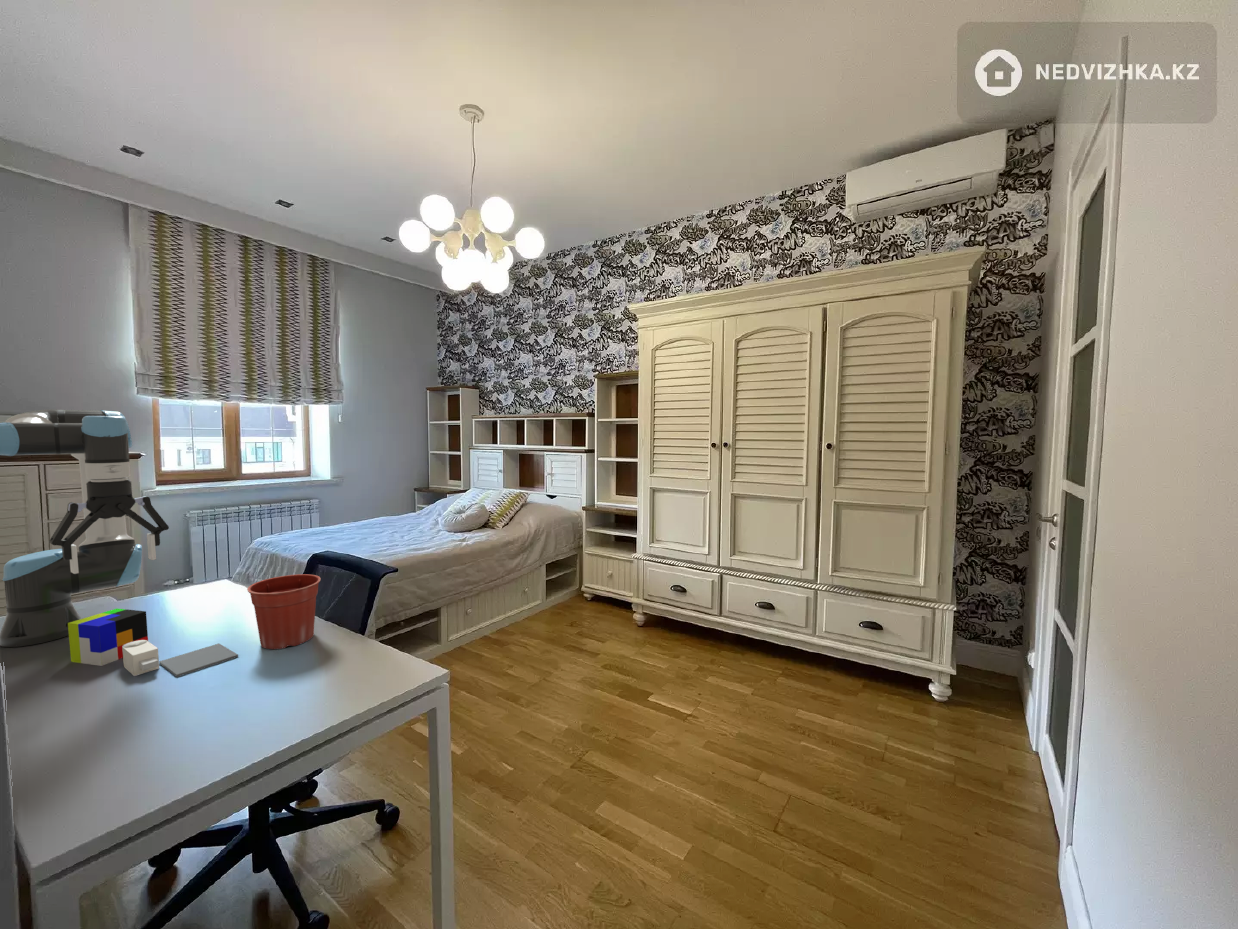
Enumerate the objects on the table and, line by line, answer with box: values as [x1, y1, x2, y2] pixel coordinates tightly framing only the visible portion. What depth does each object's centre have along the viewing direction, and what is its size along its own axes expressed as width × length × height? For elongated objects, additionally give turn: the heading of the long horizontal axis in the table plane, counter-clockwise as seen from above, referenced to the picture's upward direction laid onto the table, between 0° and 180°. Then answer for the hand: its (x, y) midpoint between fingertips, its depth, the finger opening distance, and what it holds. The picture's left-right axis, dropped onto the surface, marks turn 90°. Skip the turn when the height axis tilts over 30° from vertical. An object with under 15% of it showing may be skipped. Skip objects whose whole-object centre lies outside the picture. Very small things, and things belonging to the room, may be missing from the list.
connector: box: [122, 640, 160, 677], centre depth 117 cm, size 13×4×5 cm, turn 58°
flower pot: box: [246, 573, 321, 650], centre depth 133 cm, size 16×16×16 cm
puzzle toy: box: [68, 608, 149, 667], centre depth 124 cm, size 10×10×10 cm
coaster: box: [159, 643, 239, 678], centre depth 122 cm, size 12×12×1 cm
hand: (115, 565), depth 119 cm, fingers open, 13 cm apart
